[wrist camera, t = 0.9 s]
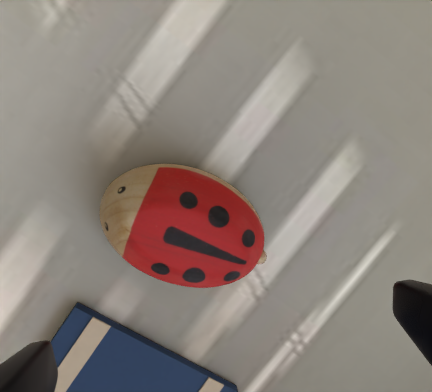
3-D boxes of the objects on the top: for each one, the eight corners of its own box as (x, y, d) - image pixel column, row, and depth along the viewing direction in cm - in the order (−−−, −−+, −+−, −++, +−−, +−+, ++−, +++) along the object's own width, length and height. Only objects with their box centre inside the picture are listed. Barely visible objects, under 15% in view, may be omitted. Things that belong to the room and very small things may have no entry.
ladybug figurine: (122, 141, 18) (110, 142, 14) (280, 196, 20) (303, 209, 16) (87, 250, 19) (69, 276, 15) (242, 293, 21) (256, 325, 17)
